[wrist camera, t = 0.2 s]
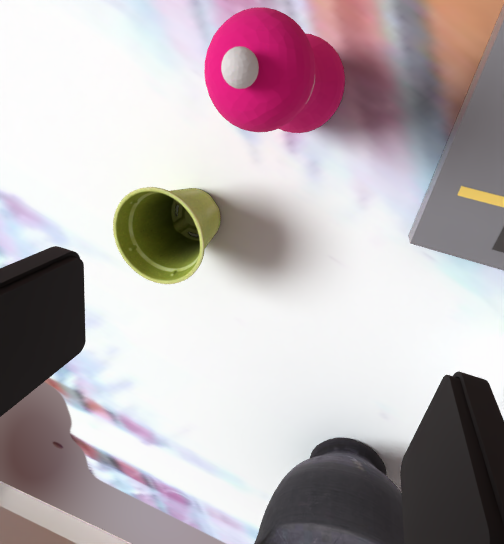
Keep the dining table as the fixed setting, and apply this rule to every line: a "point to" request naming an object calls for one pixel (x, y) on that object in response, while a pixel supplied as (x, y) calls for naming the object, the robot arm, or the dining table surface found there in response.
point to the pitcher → (335, 500)
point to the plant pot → (165, 231)
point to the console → (471, 171)
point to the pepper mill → (272, 73)
